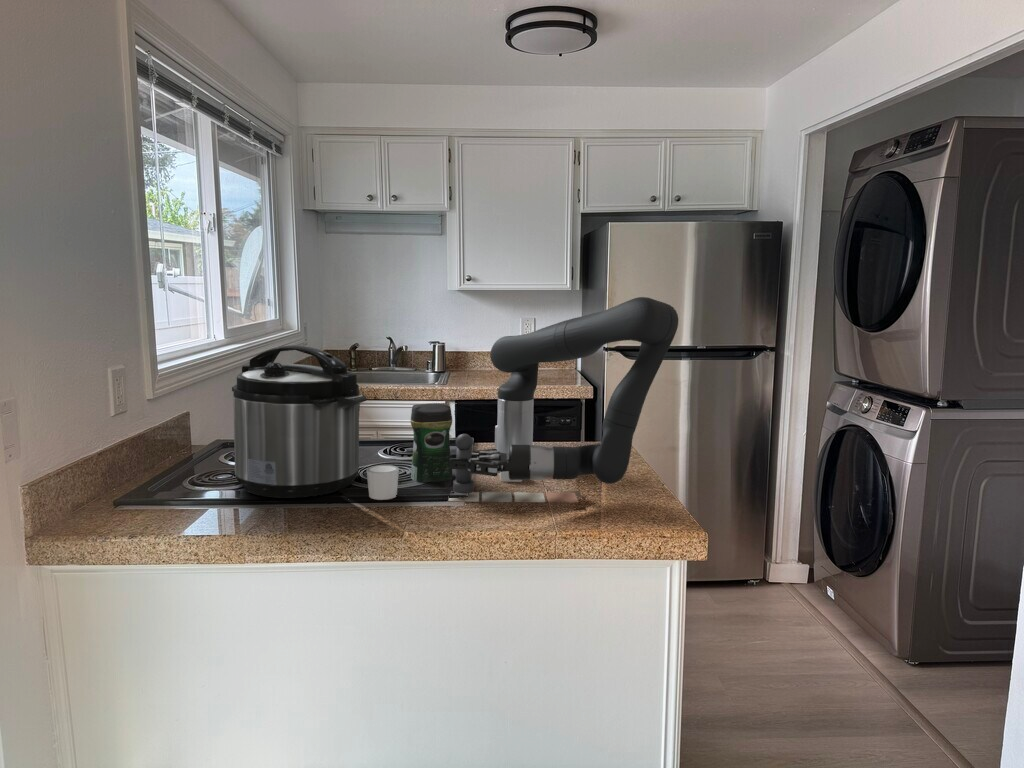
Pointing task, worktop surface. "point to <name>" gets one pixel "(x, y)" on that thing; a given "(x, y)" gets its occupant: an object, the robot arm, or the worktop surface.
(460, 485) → the pawn
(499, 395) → the robot arm
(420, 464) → the coffee jar
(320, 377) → the pressure cooker
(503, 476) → the die
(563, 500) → the track board
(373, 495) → the white cup
